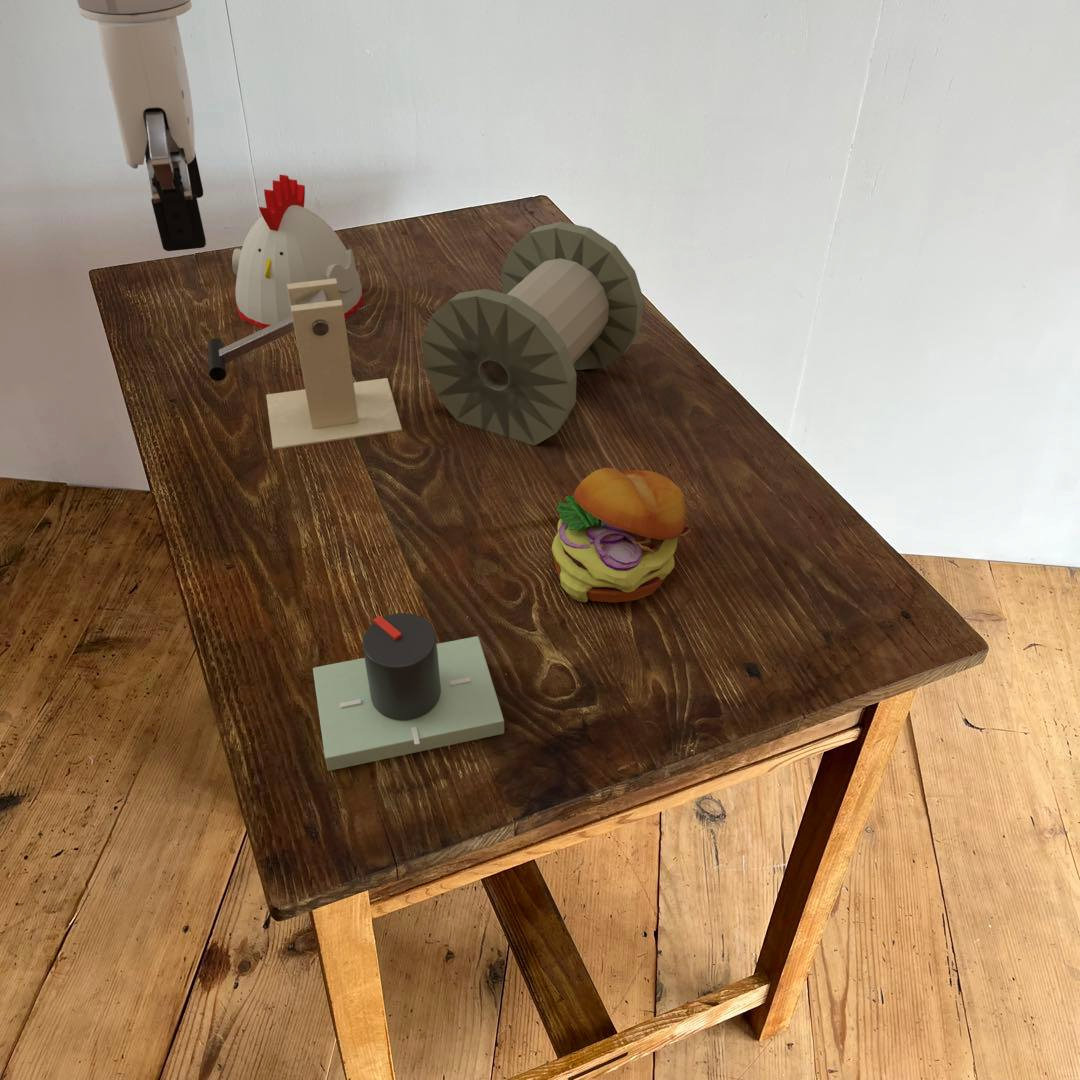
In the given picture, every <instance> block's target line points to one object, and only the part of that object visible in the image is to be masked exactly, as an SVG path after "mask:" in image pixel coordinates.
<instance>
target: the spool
mask: <svg viewBox="0 0 1080 1080" xmlns="http://www.w3.org/2000/svg"><path fill="white" fill-rule="evenodd" d="M641 289H642V288H641V286H640V283H639V280H638V277H637V273H636V270H635V269H634V267H633V266H632V265H631V263H630V262H629V261H628V259H627V258H626V257H625V255H624V254H623V253H622V251H621V250H620V249H619V248H618V246H617V245H616V244H615V243H613V242H612V241H610V240H609V239H607V238H605V237H604V236H603V235H602V234H600V233H599V232H597V231H595V230H594V229H592V228H591V227H587V226H583V225H578V224H575V223H570V222H565V221H559V222H554V223H549V224H544V225H540V226H536V227H535V228H534V229H532V230H531V231H530V232H528V234H526V235H525V236H524V237H523V238H522V239H520V240H519V241H518V242H517V243H516V244H514V245H513V246H512V247H511V248H510V250H509V252H508V255H507V257H506V259H505V261H504V264H503V267H502V269H501V292H499V291H495V290H491V289H488V288H482V289H481V288H480V289H475V290H469V291H463V292H459V293H457V294H456V295H455V296H453V297H452V298H451V299H449V300H448V301H447V302H446V303H445V304H444V305H442V306H441V307H440V308H439V309H438V310H436V311H435V312H434V313H433V314H431V315H430V316H429V320H428V323H427V325H426V327H425V330H424V333H423V336H422V339H421V346H422V358H423V368H424V371H425V373H426V375H427V378H428V380H429V382H430V384H431V387H432V389H433V391H434V394H435V396H436V397H437V399H438V400H439V401H440V402H441V403H442V405H443V406H444V407H445V408H446V409H447V411H448V412H449V413H450V414H451V416H452V417H453V418H454V419H455V421H457V422H459V423H461V424H465V425H469V426H471V427H475V428H477V429H481V430H484V431H487V432H489V433H493V434H497V435H500V436H503V437H505V438H509V439H512V440H514V441H519V442H521V443H524V444H528V445H530V446H537V445H539V444H540V443H542V442H543V441H545V440H547V439H549V438H551V437H553V436H554V435H556V434H557V433H558V432H559V431H560V430H561V428H562V427H563V426H564V425H565V423H566V421H567V419H568V417H569V416H570V414H571V411H572V410H573V409H574V406H575V405H576V403H577V402H576V401H577V372H576V370H577V371H583V370H592V369H602V368H605V367H606V366H608V365H609V364H611V363H612V362H614V361H617V359H619V358H621V357H623V355H625V354H626V353H627V351H628V350H629V349H630V347H631V345H632V344H633V342H634V340H635V339H636V338H637V335H638V333H639V332H640V330H641V328H642V325H643V315H644V314H643V313H644V302H645V299H644V296H643V293H642V290H641Z"/></svg>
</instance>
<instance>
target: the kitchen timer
mask: <svg viewBox="0 0 1080 1080" xmlns="http://www.w3.org/2000/svg"><path fill="white" fill-rule="evenodd" d="M278 178H279V179H278V180H274V179H273V180H272V189H267V188H264V189H263V193H264V202H265V206H266V207H264V206H259V207H258V210H259V212H260V217H259V218H258V219H257V220H256V221H255V223H253V225H252V226H251V228H250V229H249V231H248V233H247V235H246V237H245V239H244V241H243V244H242V246H241V249H240V248H235V249H234V250H233V252H232V257H231V258H232V259H231V261H232V262H231V264H232V271H233V274H234V275H235V276H236V281H235V304H236V308H237V313H238V317H239V319H240V321H247V322H248V323H249V324H250V325H253V326H256V327H259V328H261V329H264V328H266V327H268V326H271V325H273V324H275V323H277V322H279V321H281V320H283V319H286V318H288V317H290V316H292V312H291V306H290V300H289V294H288V289H287V284H291V283H299V282H308V281H316V280H325V279H333V278H336V280H337V284H338V291H339V298H340V300H342V304H343V310H344V317H345V319H347V318H350V316H351V315H353V314H354V312H356V311H357V310H358V309H359V307H361V306H364V295H363V294H364V293H363V286H362V281H361V279H360V276H359V273H358V270H357V267H356V262H355V257H354V252H353V250H352V248H349V249H347V248H346V246H345V244H344V243H343V241H342V240H341V239H340V237H339V236H338V234H337V233H336V232H335V230H334V229H333V228H332V227H331V226H330V224H329V223H327V221H325V220H324V219H323V218H322V217H321V216H319V215H318V214H317V213H315V212H313V211H312V210H310V209H308V208H306V207H305V202H306V201H305V200H306V199H305V198H306V186H305V184H298V180H297V179H293V178H289V175H287V174H279V176H278Z"/></svg>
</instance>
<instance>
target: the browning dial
mask: <svg viewBox="0 0 1080 1080" xmlns="http://www.w3.org/2000/svg"><path fill="white" fill-rule="evenodd" d="M361 643H362V645H361V646H362V651H363V658H365V664H366V670H367V676H368V682H369V689H370V695H371V700H372V703H373V705H374V707H375V708H376V709H377V711H378V712H380V713H381V714H382V715H384V716H386V717H388V718H391V719H395V720H411V719H415V718H418V717H421V716H423V715H425V714H426V713H428V712H429V711H430V710H432V709H433V708H434V706H435V705H436V704H437V702H438V700H439V698H440V694H441V685H440V673H439V662H438V651H437V644H438V639H437V633H436V631H435V628H434V627H433V625H432V623H430V621H428V620H427V619H425V618H424V617H422V616H419V615H418V614H413V613H407V612H397V613H392V614H387V615H385V616H382V615H378V616H376V617H375V618H373V622H372V624H370V625H369V626H368V628H367V629H366V631H365V632H364V634H363V637H362V642H361Z"/></svg>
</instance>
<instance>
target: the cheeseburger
mask: <svg viewBox="0 0 1080 1080" xmlns="http://www.w3.org/2000/svg"><path fill="white" fill-rule="evenodd" d="M564 500H565V501H566V502H564V501H563V502H562V501H558V503H557V504H558V505H557V508H556V511H557V513H559V516H558V518H559V520H558V522H557V533H556V534H555V536H554V537H553V542H552V545H551V550H552V554H553V563H554V566H555V569H556V573H557V576H558V579H559V580H560V581H559V582H560V587H561V588H562V589H563V590H564V591H565V592H566V593H567V594H568V595H569V596H570V597H571V599H574V600H575V601H577V602H579V603H587V602H588V600H590V601H592V602H602V603H621V602H623V603H624V602H630V601H631V602H632V601H638V600H640V599H643V598H645V597H648V596H651V595H653V594H654V592H656V590H657V589H658V588H659V587H660V586H661V585H662V584H663V582H664V580H665V579H666V577H667V576H668V575H669V574H671V572H672V571H673V569H674V568H675V557H674V555H675V552H676V550H677V547H678V538H679V537H681V536H686V535H687V534H689V532H691V526H690V525H688V524H685V523H686V516H687V509H686V504H685V499H684V495H683V491H682V490H681V489H680V487H678V486H677V484H675V483H674V482H673V481H672V479H670V478H668V477H667V476H664V475H663V474H661V473H658V472H655V471H651V470H642V469H641V470H640V469H625V470H618V469H616V468H612V467H602V468H600V469H596V470H593V471H592V472H591V473H590V474H588V475H587V476H586V477H585V478H583V479H582V481H580V483H579V484H578V485H577V487H576V488H575V490H574V493H573V495H566V496H565V497H564Z"/></svg>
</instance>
